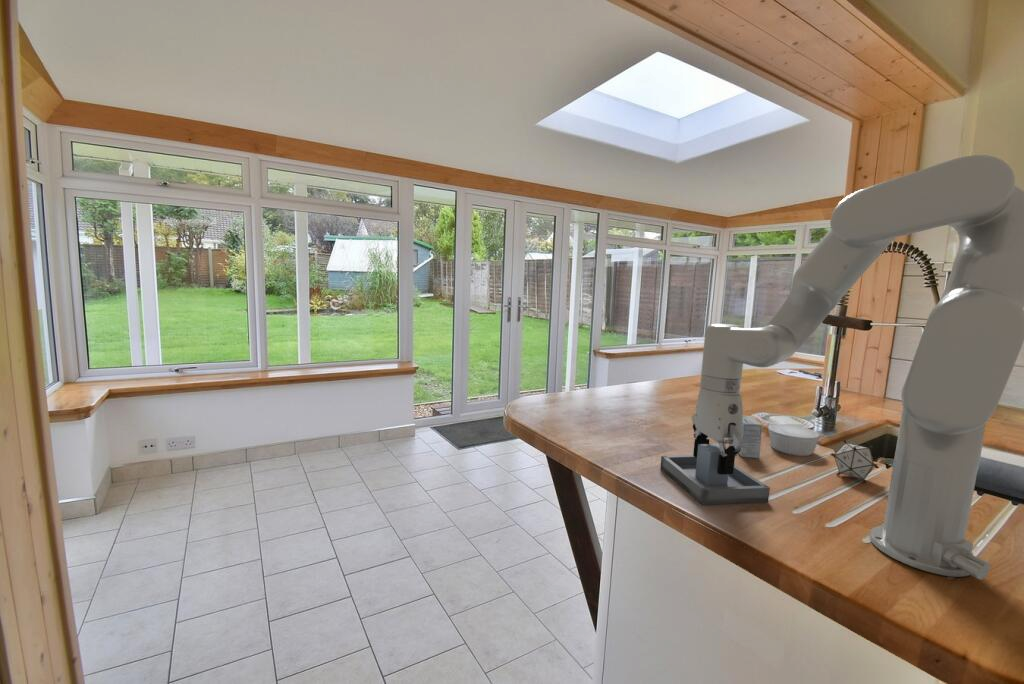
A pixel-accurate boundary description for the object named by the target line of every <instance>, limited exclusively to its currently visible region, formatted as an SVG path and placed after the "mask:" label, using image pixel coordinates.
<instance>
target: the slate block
mask: <svg viewBox="0 0 1024 684" xmlns="http://www.w3.org/2000/svg"><path fill="white" fill-rule="evenodd" d="M719 455H722V454H721V451H720V447H719V443H709V444H698V452H697V463H696V474H695V476H697V477H698V478H699V479H701V480H702V481H703V482H704V483H706V484H707V485H714V484H727V482H728V474H724V475H720V474H718V473H717V468H718V458H719Z"/></svg>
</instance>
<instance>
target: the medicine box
mask: <svg viewBox="0 0 1024 684" xmlns="http://www.w3.org/2000/svg"><path fill="white" fill-rule="evenodd" d="M762 434H763V424H762V423H760V421H759V420H758V419H756V418H755V417H754V416H752V415H744V414H743V423H742V438H743V440H744V442H745V444H744V445H743V447H742V448H741V450H740V452H739V453H738V454H739V456H740V457H742V458H748V459H751V458H752V459H760V456H761V455H760V453H761V445H762V443H761V442H762V436H763V435H762Z"/></svg>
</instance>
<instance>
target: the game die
mask: <svg viewBox="0 0 1024 684" xmlns="http://www.w3.org/2000/svg"><path fill="white" fill-rule="evenodd" d="M842 442H843V443H844V444H842V446H840V448H839V449H838V450H837V451H836V452H835V453H833V452H832V453H830V455H831V457H833V458H834V460H835V464H836V468H837V470H838V473H836V477H838V476H840V475H845V476H848V477H852V478H855V479H856V478H857V479H860V480H862V482H863V483H864V482H865V483H866V484H867V480H866V478H867V477H868V476H869V474H870V473H871V472H872V471H873V470H874V469H880V467H879V466H878V464H877V463H875V461H874V457H873V455H872V451H871V449H873V448H874V447H873V445H869V446H868V447H866V446H862V445H857V444H854V443H849V442H847V440H846V439H842ZM865 483H864V484H865Z"/></svg>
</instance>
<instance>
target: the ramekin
mask: <svg viewBox="0 0 1024 684" xmlns="http://www.w3.org/2000/svg"><path fill="white" fill-rule="evenodd" d="M767 428H768V429H767V430H768V431H767V432H768V433H769V443H770V446H771V448H773V449H774V451H775V450H776V451H778V452H780V453H783V454H786V455H791V456H799V457H808V456H811V455H812V454H813V453H815V450H816V446H817V444H818V441H819V440H820V437H821V436H820V434H819V433H818V432H816V431H814V430H813V429H811V428H807V427H802V426H799V425H792V424H783V423H782V424H781V423H780V424H779V423H777V424H772V425H769V426H768V427H767Z"/></svg>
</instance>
